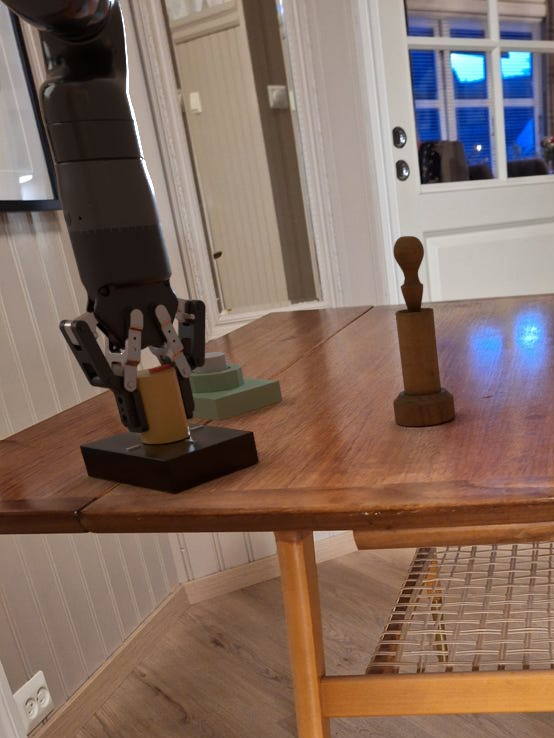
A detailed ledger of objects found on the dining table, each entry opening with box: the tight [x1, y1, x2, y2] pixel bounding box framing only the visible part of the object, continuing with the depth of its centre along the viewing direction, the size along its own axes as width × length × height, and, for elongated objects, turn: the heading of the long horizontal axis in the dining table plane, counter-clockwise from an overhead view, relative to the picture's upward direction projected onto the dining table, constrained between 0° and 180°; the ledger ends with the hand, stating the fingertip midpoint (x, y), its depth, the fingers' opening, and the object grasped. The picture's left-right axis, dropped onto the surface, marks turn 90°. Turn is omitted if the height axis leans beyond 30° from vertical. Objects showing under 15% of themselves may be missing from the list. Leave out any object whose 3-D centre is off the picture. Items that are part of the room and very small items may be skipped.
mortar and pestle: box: [392, 235, 456, 427], centre depth 89 cm, size 7×6×18 cm
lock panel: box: [79, 422, 260, 494], centre depth 82 cm, size 13×10×3 cm
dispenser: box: [189, 363, 283, 422], centre depth 105 cm, size 12×10×4 cm
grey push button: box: [194, 351, 228, 374], centre depth 104 cm, size 4×4×2 cm
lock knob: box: [135, 364, 190, 444], centre depth 80 cm, size 4×4×6 cm
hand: (161, 424), depth 81 cm, fingers closed on lock knob, 4 cm apart
